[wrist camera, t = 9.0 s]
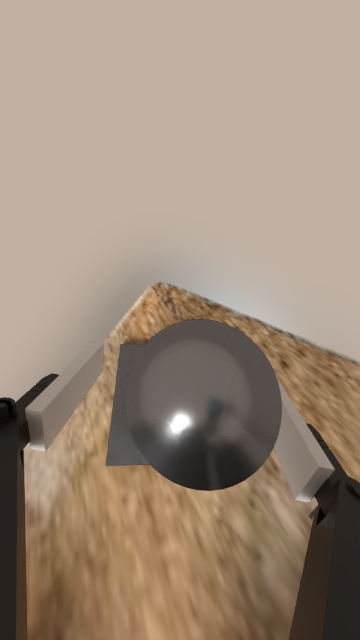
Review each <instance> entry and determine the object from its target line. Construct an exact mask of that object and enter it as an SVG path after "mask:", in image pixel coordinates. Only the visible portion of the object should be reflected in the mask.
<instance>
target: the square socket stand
mask: <svg viewBox="0 0 360 640" xmlns="http://www.w3.org/2000/svg"><path fill="white" fill-rule="evenodd" d="M144 346H145V345H141V344H121V345H120V353H119V361H118V369H117V377H116V385H115V394H114V402H113V410H112V418H111V426H110V434H109V442H108V450H107V459H106V466H120V465H150V464H149V462H148V461H147V460H146V459H145V458H144V456H143V455H142V453H141V452H140V450H139V449H138V447H137V445H136V443H135V441H134V439H133V437H132V434H131V431H130V428H129V425H128V420H127V415H126V405H125V398H126V387H127V381H128V377H129V374H130V370H131V368H132V365H133V363H134V361H135V359H136V357H137V356H138V354H139V352H140V351H141V349H142V348H143V347H144Z"/></svg>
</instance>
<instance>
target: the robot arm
mask: <svg viewBox="0 0 360 640" xmlns="http://www.w3.org/2000/svg"><path fill="white" fill-rule="evenodd" d="M103 349H104V343H100V342H95V341H94V342H93V343H92V344H91V345H90V346H89V347H88V348H87V349H86V350H85V351H84V352H83V353H82V354H81V355H80V356H79V357H78V358H76V360H75V361H74V362H72V363H71V364H70V365H69V366H68V367H67V368H66V370H64V371H63V372H62V373H61V374H60V375H57V374H50V375H48V376H46V377H44V378H42V379H41V380H40V381H39V382H38V383H37V384H36V385H35V386H34V387H33V388H31V389H30V391H28V392H27V393H26V394H25V395H23V396H22V397H21V398H20V399H19V400H18V401H17V402H16V403H15V401H14V400H13V399H11V398H0V640H27V596H26V542H25V488H24V450H23V449H24V448H25V446H26V445H27V444H28V443H29V442H30V447H31V449H34V450H40V451H45V452H46V450H47V449H48V448H49V446H50V445H51V443H52V442H53V441H54V439H55V438H56V436H57V435H58V433H59V432H60V431H61V429H62V428H63V426H64V425H65V424H66V422H67V421H68V419H69V418H70V417H71V415H72V414H73V412H74V411H75V410H76V408H77V407H78V405H79V404H80V403H81V401H82V400H83V398H84V397H85V396H86V394H87V393H88V391H89V390H90V388H91V387H92V386H93V384H94V383H95V381H96V380H97V379H98V377H99V376H100V374H101V373H102V369H103ZM277 380H278V379H277ZM278 384H279V388H280V392H281V400H282V418H281V426H280V430H279V434H278V438H277V440H276V443H275V446H274V449H275V451H276V454H277V456H278V459H279V461H280V464H281V466H282V469H283V471H284V474H285V476H286V479H287V481H288V484H289V486H290V489H291V491H292V494H293V496H294V499H295V500H298V501H303V502H310V501H311V500H312V498H313V497H314V496H315V498H316V500H317V502H318V506H317V507H316V508H315V509H314V510H313V512H312V513H311V514H310V516H309V517H310V518H311V519H312V517H313V516H314V519H313V524H312V529H311V534H310V539H309V544H308V549H307V554H306V558H305V563H304V568H303V573H302V578H301V583H300V588H299V593H298V598H297V602H296V607H295V612H294V617H293V622H292V627H291V632H290V637H289V640H360V483H359V482H358V481H356V480H355V479H353V478H351V477H348V476H347V474H346V473H345V471H344V470H343V468H342V467H341V465H340V464H339V462H338V461H337V459H336V458H335V456H334V455H333V453H332V452H331V450H330V449H329V447H328V446H327V444H326V443H325V442H324V440H323V438H322V437H321V435H320V434H319V432H318V431H317V430H316V429H315V428H314V427H313V426H312V425H311V424H307V423H305V421H304V420H303V418H302V417H301V415H300V413H299V412H298V410H297V409H296V407H295V405H294V404H293V402H292V401H291V399H290V398H289V396H288V394H287V393H286V391H285V390H284V388H283V386H282V385H281V383H280V382H279V380H278Z"/></svg>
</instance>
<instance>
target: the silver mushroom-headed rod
mask: <svg viewBox="0 0 360 640" xmlns="http://www.w3.org/2000/svg"><path fill="white" fill-rule="evenodd" d="M125 405H126V415H127V420H128V425H129V428H130V431H131V434H132V437H133V439H134V441H135V443H136V445H137V447H138V449H139V450H140V452H141V453H142V455H143V456H144V458H145V459H146V460H147V461H148V462H149V464H150V465H151V466H152V467H153V468H154V469H155V470H156V471H158V472H159V473H160V474H161V475H163V476H164V477H165V478H167V479H169V480H171V481H172V482H174V483H176V484H179V485H181V486H184V487H186V488H191V489H195V490H206V491H212V490H220V489H225V488H228V487H231V486H234V485H236V484H238V483H240V482H242V481H244V480H246V479H247V478H248V477H250V476H251V475H253V474H254V473H255V472H256V471H257V470H258V469H259V468H260V467H261V466H262V465H263V463H264V462H265V461H266V459H267V458H268V457H269V455H270V453H271V451H272V449H273V448H274V446H275V443H276V440H277V438H278V434H279V430H280V426H281V418H282V400H281V392H280V388H279V384H278V380H277V378H276V375H275V372H274V370H273V368H272V366H271V364H270V362H269V360H268V359H267V357H266V356H265V354H264V353H263V352H262V350H261V349H260V348H259V347H258V346H257V345H256V344H255V343H254V342H253V341H252V340H251V339H250V338H249V337H248V336H246V335H245V334H244V333H242V332H241V331H239V330H237V329H236V328H234V327H232V326H230V325H227V324H224V323H221V322H218V321H213V320H206V319H193V320H186V321H182V322H178V323H175V324H173V325H171V326H168V327H166V328H165V329H163V330H161V331H160V332H158V333H157V334H156V335H155V336H153V337H152V338H151V339H150V340H149V341H148V342H147V343H146V344H145V346H144V347H143V348H142V349H141V351H140V352H139V354H138V356H137V357H136V359H135V361H134V363H133V365H132V368H131V370H130V374H129V377H128V381H127V387H126V398H125Z"/></svg>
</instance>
